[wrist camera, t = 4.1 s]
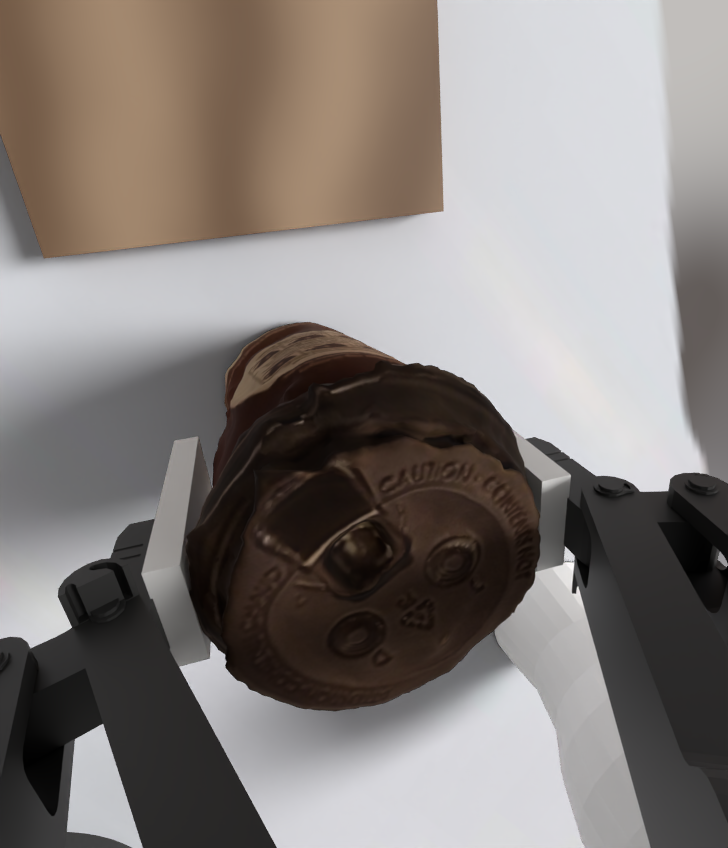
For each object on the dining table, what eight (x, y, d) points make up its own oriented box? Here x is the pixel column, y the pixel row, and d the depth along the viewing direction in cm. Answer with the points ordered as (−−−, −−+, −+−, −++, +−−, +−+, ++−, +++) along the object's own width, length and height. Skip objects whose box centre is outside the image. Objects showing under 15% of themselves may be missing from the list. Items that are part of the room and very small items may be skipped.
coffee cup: (191, 283, 19) (158, 396, 7) (397, 288, 21) (618, 380, 10) (205, 485, 22) (198, 780, 11) (382, 470, 24) (534, 701, 13)
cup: (447, 600, 29) (635, 937, 15) (605, 510, 29) (923, 766, 16) (502, 698, 34) (681, 1021, 20) (637, 620, 34) (902, 888, 21)
